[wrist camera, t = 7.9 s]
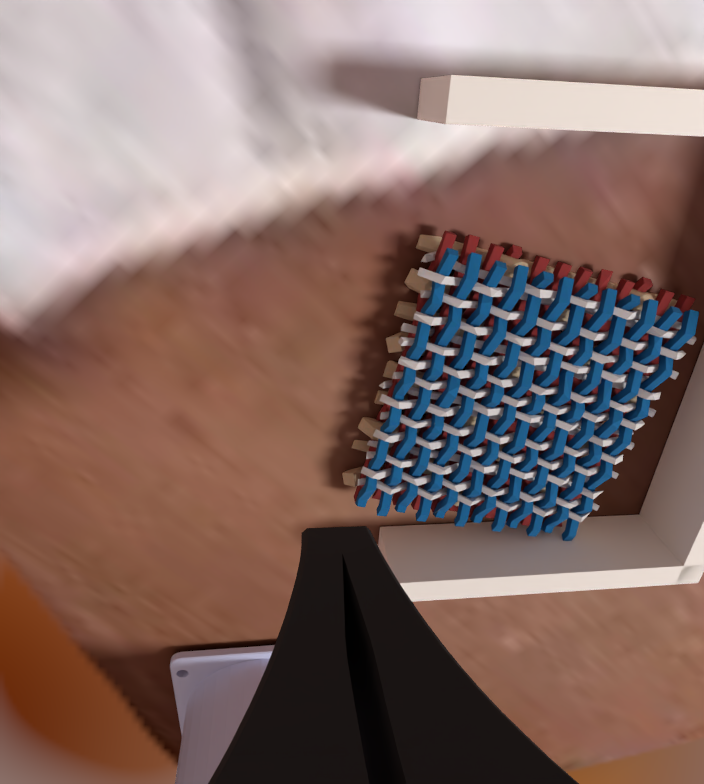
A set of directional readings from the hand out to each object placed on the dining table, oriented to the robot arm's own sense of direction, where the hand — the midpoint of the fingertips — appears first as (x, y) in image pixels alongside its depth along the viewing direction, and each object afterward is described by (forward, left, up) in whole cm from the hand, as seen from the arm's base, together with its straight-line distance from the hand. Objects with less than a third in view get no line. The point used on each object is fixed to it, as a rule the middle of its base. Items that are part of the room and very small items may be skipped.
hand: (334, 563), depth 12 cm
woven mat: (-1, -7, -9) cm, 12 cm away
